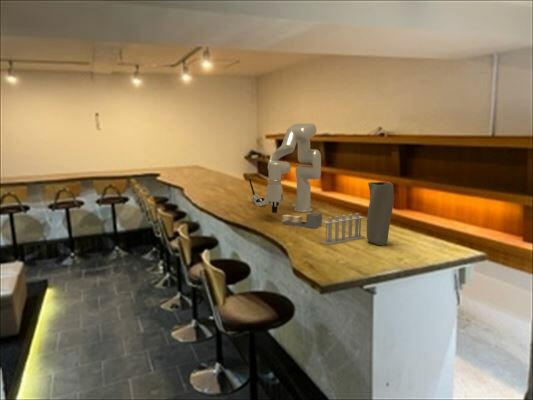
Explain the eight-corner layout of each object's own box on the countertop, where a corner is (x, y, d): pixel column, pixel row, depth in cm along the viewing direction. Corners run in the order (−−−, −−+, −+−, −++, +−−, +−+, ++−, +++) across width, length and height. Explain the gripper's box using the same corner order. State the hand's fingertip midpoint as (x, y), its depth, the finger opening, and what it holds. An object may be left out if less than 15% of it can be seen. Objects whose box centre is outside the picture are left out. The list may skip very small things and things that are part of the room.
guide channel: (282, 224, 246) (282, 221, 246) (287, 221, 252) (287, 219, 251) (307, 227, 238) (307, 224, 237) (311, 225, 243) (311, 222, 243)
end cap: (306, 227, 237) (306, 214, 236) (312, 224, 244) (312, 212, 242) (315, 228, 234) (315, 216, 233) (321, 226, 240) (321, 213, 239)
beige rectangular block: (281, 223, 248) (281, 215, 248) (284, 222, 251) (284, 214, 250) (299, 226, 242) (299, 217, 241) (302, 224, 245) (302, 216, 244)
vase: (384, 239, 211) (386, 181, 206) (395, 245, 199) (398, 184, 194) (361, 240, 209) (363, 182, 204) (371, 247, 197) (374, 185, 192)
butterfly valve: (270, 205, 305) (260, 199, 320) (263, 180, 297) (253, 176, 312) (260, 209, 302) (250, 204, 317) (252, 185, 294) (243, 180, 310)
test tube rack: (326, 245, 202) (327, 218, 199) (321, 243, 205) (321, 217, 203) (364, 238, 214) (365, 213, 212) (358, 236, 218) (359, 211, 215)
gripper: (261, 182, 249) (260, 212, 252) (282, 184, 241) (282, 214, 244) (267, 181, 256) (267, 210, 258) (288, 183, 248) (288, 212, 250)
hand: (274, 212), depth 251 cm, fingers closed
